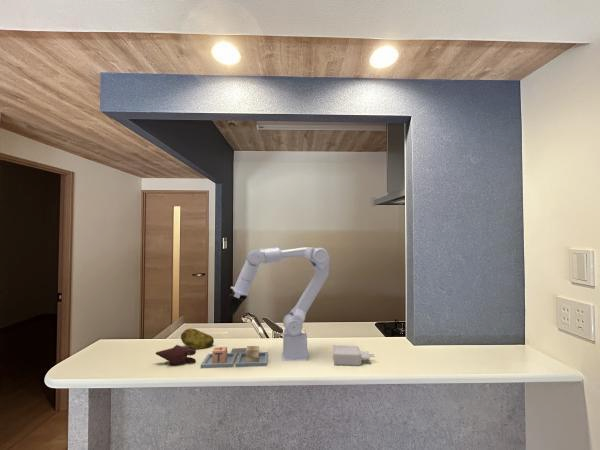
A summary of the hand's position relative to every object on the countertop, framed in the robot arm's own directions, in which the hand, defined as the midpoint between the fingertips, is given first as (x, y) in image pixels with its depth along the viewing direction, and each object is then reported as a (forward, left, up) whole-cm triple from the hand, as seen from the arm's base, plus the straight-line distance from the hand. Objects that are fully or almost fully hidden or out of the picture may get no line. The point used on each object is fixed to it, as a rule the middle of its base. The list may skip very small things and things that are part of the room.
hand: (231, 313), depth 108 cm
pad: (-2, -9, -18) cm, 20 cm away
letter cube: (+4, +1, -17) cm, 18 cm away
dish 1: (+4, +1, -18) cm, 18 cm away
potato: (+17, -16, -18) cm, 30 cm away
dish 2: (-8, +1, -18) cm, 19 cm away
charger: (-46, +3, -18) cm, 49 cm away
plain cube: (-8, +1, -17) cm, 19 cm away
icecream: (+20, 0, -18) cm, 27 cm away
